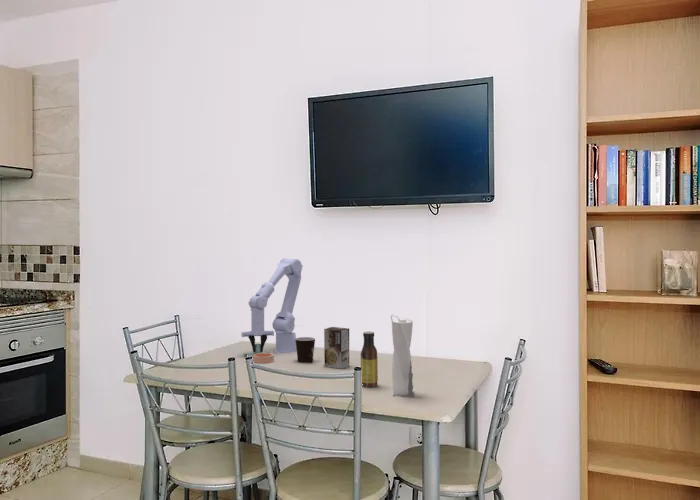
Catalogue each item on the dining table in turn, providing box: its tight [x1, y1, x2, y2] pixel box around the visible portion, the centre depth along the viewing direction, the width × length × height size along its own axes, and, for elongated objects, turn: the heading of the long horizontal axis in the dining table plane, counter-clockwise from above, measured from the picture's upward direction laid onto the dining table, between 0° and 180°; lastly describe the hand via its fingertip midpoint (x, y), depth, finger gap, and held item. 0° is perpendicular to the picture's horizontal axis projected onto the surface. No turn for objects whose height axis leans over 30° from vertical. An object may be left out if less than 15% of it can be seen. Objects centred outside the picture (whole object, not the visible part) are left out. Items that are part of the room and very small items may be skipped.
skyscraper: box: [390, 314, 415, 398], centre depth 205 cm, size 8×8×28 cm
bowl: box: [252, 352, 275, 365], centre depth 254 cm, size 9×9×3 cm
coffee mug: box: [295, 336, 316, 364], centre depth 256 cm, size 12×9×10 cm
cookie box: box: [323, 326, 350, 370], centre depth 246 cm, size 9×6×16 cm
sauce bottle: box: [360, 330, 379, 388], centre depth 216 cm, size 7×6×20 cm
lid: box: [246, 343, 268, 357], centre depth 266 cm, size 9×9×5 cm
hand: (257, 351), depth 266 cm, fingers closed on lid, 3 cm apart
